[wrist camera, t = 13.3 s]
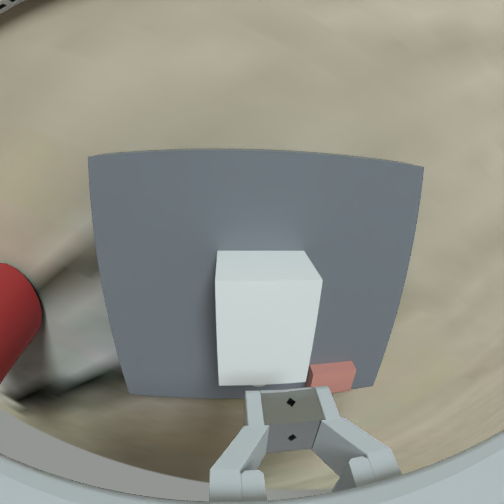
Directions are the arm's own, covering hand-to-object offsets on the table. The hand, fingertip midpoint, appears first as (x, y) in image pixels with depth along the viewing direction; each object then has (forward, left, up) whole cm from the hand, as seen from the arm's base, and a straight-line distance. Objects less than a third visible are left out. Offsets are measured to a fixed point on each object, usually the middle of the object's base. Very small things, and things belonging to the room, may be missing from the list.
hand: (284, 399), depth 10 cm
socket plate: (0, 0, -10) cm, 10 cm away
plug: (0, 0, -9) cm, 9 cm away
